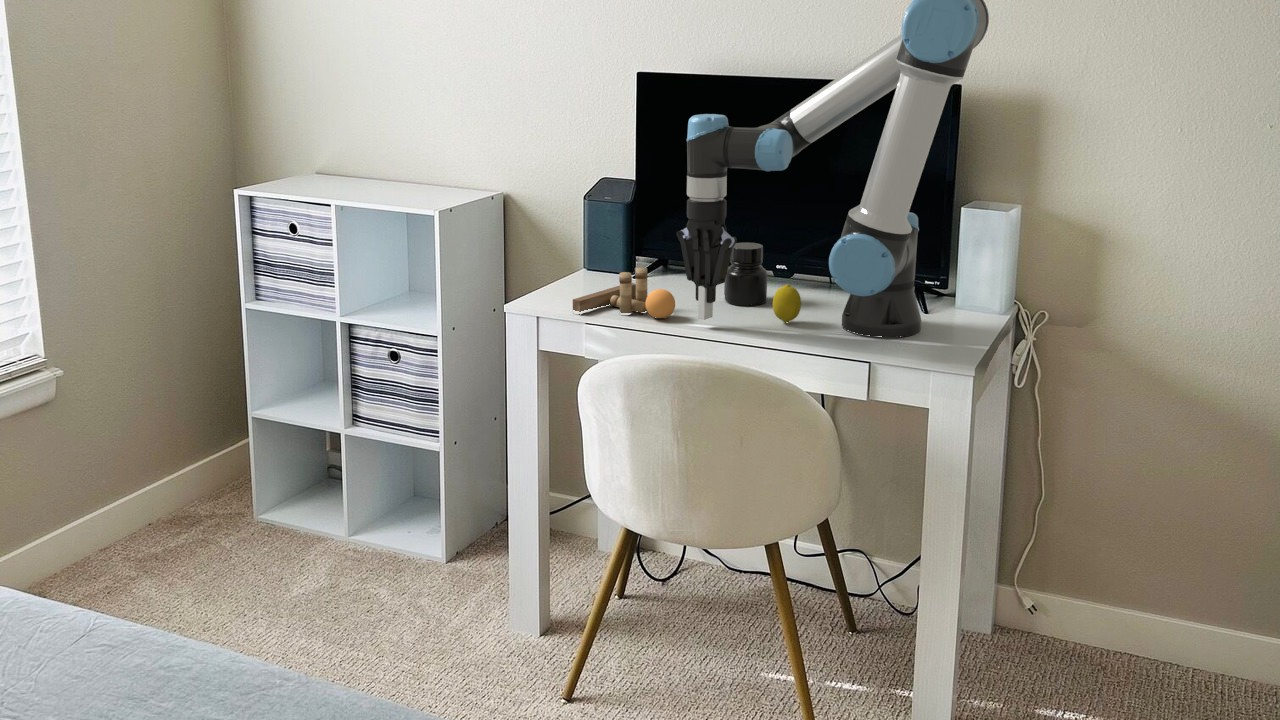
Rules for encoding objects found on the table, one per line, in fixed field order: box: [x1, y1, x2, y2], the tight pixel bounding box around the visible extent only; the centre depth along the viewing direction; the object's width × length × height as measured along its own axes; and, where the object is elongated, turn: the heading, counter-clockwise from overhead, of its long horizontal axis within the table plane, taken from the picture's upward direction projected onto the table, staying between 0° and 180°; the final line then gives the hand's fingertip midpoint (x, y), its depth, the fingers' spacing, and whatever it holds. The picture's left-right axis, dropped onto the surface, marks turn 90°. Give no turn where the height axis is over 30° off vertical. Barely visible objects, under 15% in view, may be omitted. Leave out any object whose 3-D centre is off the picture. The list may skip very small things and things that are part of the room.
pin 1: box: [618, 271, 633, 313], centre depth 237 cm, size 2×2×8 cm
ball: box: [645, 288, 676, 319], centre depth 234 cm, size 6×6×6 cm
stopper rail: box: [572, 282, 636, 312], centre depth 244 cm, size 2×18×3 cm, turn 141°
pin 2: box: [634, 267, 649, 302], centre depth 240 cm, size 2×2×8 cm
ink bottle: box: [723, 242, 768, 307], centre depth 245 cm, size 10×9×12 cm
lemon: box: [772, 283, 802, 323], centre depth 230 cm, size 6×6×8 cm
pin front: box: [610, 295, 648, 313], centre depth 240 cm, size 2×2×8 cm
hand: (705, 317), depth 228 cm, fingers closed
